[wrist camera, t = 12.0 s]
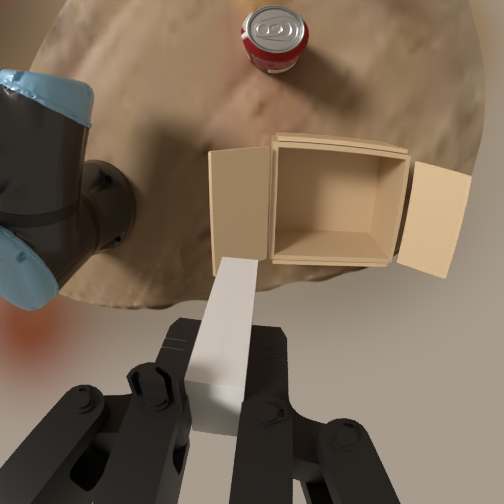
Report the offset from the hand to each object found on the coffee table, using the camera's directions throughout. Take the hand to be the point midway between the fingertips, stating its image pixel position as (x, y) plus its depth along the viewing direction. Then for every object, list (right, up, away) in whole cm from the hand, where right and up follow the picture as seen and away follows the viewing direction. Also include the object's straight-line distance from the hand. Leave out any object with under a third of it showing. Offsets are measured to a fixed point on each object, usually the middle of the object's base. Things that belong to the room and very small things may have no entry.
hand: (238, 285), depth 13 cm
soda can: (+3, +28, +20) cm, 34 cm away
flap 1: (0, +6, +17) cm, 18 cm away
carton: (+11, +11, +28) cm, 32 cm away
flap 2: (+22, +5, +17) cm, 28 cm away
